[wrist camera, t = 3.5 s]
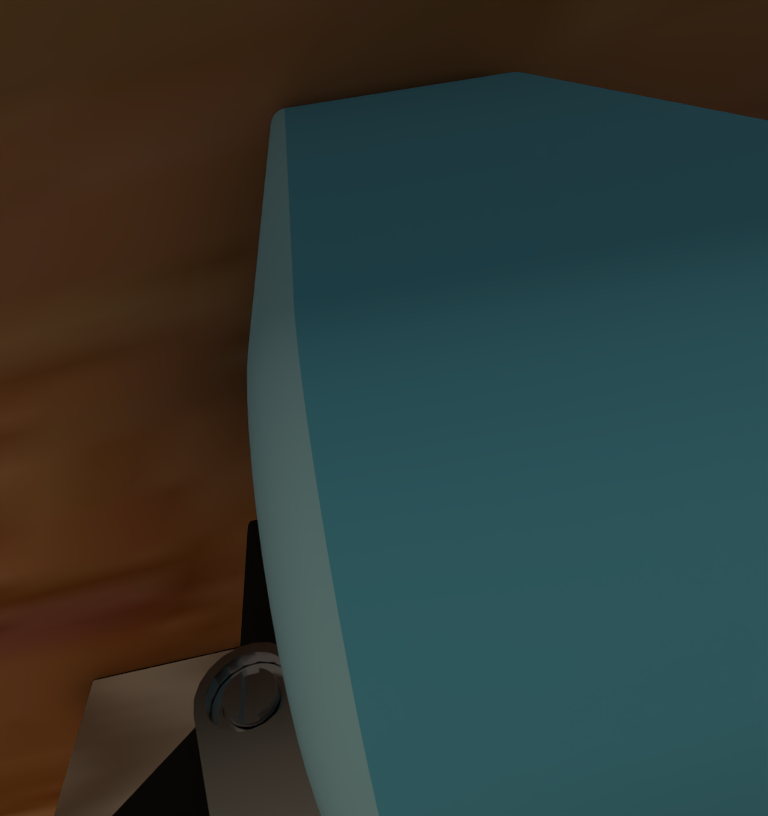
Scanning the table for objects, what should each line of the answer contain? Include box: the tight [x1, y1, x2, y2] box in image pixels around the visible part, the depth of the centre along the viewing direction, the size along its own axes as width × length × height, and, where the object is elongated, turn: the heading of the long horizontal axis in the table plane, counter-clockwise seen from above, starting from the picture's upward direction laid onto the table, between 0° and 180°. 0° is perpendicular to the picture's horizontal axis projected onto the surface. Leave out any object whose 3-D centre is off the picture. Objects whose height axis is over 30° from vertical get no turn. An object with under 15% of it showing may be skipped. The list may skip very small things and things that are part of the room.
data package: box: [247, 72, 768, 816], centre depth 10 cm, size 12×4×12 cm, turn 7°
